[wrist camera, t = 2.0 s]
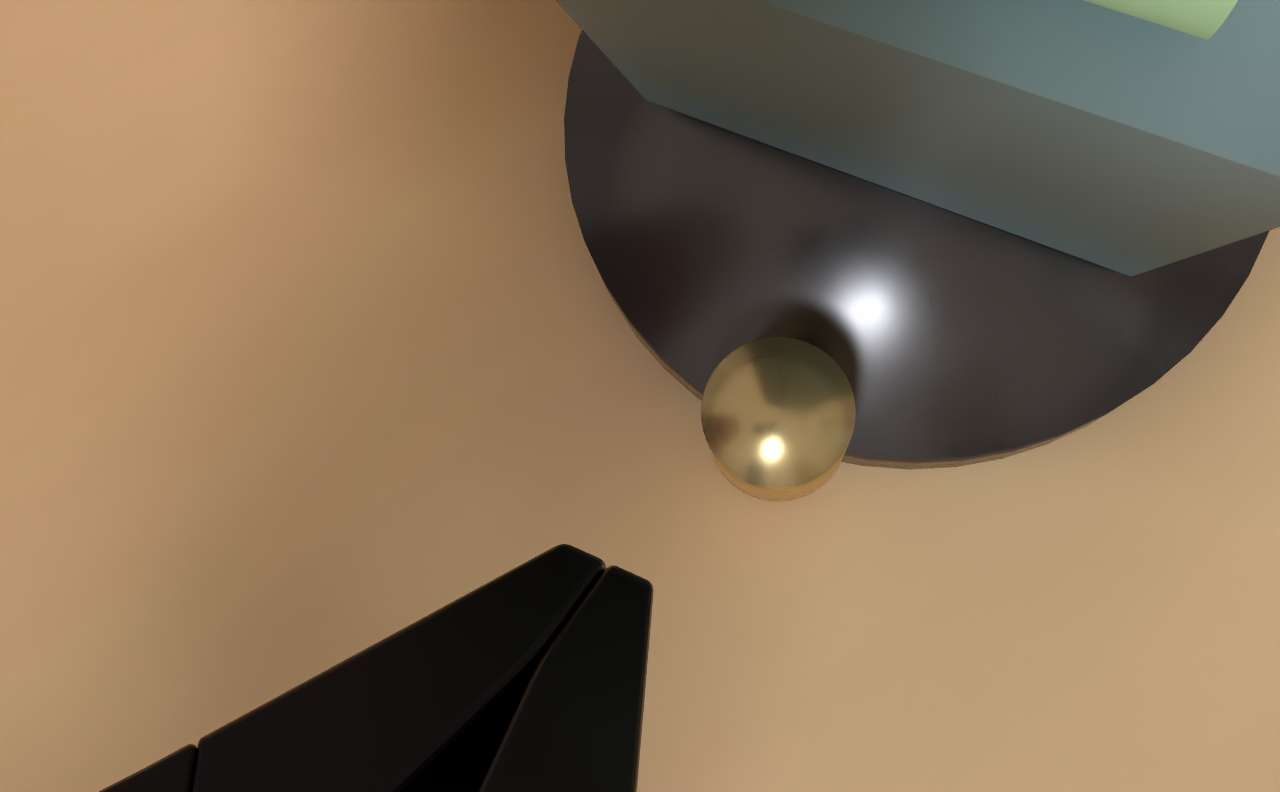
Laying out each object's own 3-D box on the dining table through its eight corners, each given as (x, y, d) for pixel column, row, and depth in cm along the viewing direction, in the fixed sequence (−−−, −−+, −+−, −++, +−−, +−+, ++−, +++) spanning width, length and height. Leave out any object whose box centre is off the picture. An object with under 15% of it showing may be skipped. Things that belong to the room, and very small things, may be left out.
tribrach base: (1105, 647, 21) (1146, 652, 19) (436, 360, 24) (399, 332, 21) (1362, -36, 23) (1429, -110, 21) (717, -229, 26) (712, -314, 23)
